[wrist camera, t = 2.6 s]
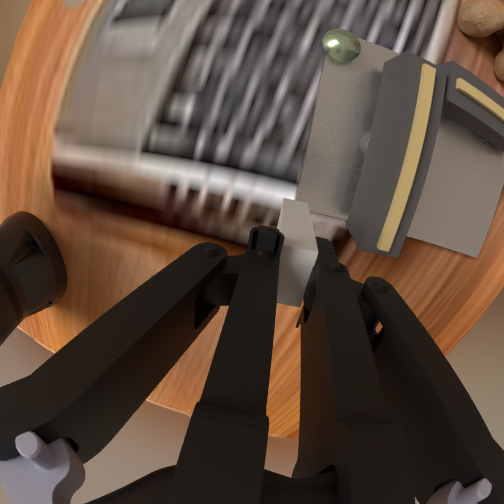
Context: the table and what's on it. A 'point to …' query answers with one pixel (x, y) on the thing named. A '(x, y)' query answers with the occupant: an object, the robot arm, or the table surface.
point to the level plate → (355, 146)
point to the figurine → (484, 25)
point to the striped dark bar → (397, 153)
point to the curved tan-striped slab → (473, 104)
